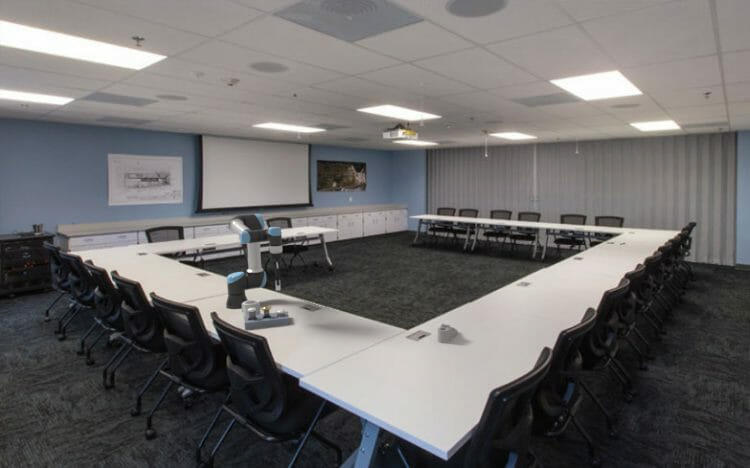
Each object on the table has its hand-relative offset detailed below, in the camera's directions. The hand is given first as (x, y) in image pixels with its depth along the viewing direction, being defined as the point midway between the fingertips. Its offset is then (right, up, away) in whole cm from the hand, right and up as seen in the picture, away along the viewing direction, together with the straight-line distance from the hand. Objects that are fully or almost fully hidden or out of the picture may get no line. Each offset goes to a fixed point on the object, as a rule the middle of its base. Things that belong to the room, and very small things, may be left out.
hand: (278, 290), depth 255 cm
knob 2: (+1, -19, +3) cm, 19 cm away
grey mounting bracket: (+99, -22, -30) cm, 106 cm away
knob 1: (-15, -17, -3) cm, 23 cm away
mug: (-22, -19, +15) cm, 32 cm away
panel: (-7, -21, 0) cm, 22 cm away
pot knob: (-7, -17, 0) cm, 18 cm away
